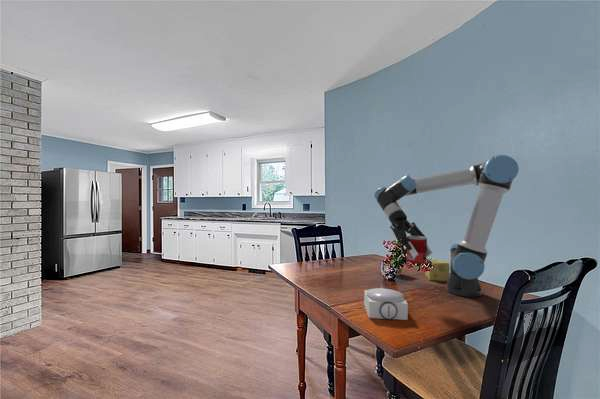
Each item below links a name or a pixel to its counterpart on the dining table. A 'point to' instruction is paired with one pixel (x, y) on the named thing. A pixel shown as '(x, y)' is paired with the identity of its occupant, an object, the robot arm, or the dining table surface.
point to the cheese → (438, 271)
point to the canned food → (418, 249)
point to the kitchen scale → (385, 304)
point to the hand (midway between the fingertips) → (423, 255)
